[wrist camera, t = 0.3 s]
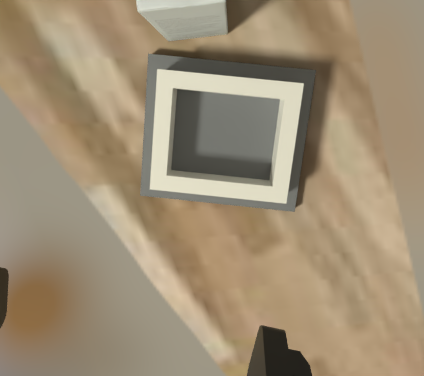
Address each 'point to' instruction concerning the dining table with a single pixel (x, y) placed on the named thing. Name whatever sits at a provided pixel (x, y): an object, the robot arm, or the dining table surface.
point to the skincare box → (185, 17)
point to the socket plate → (225, 131)
